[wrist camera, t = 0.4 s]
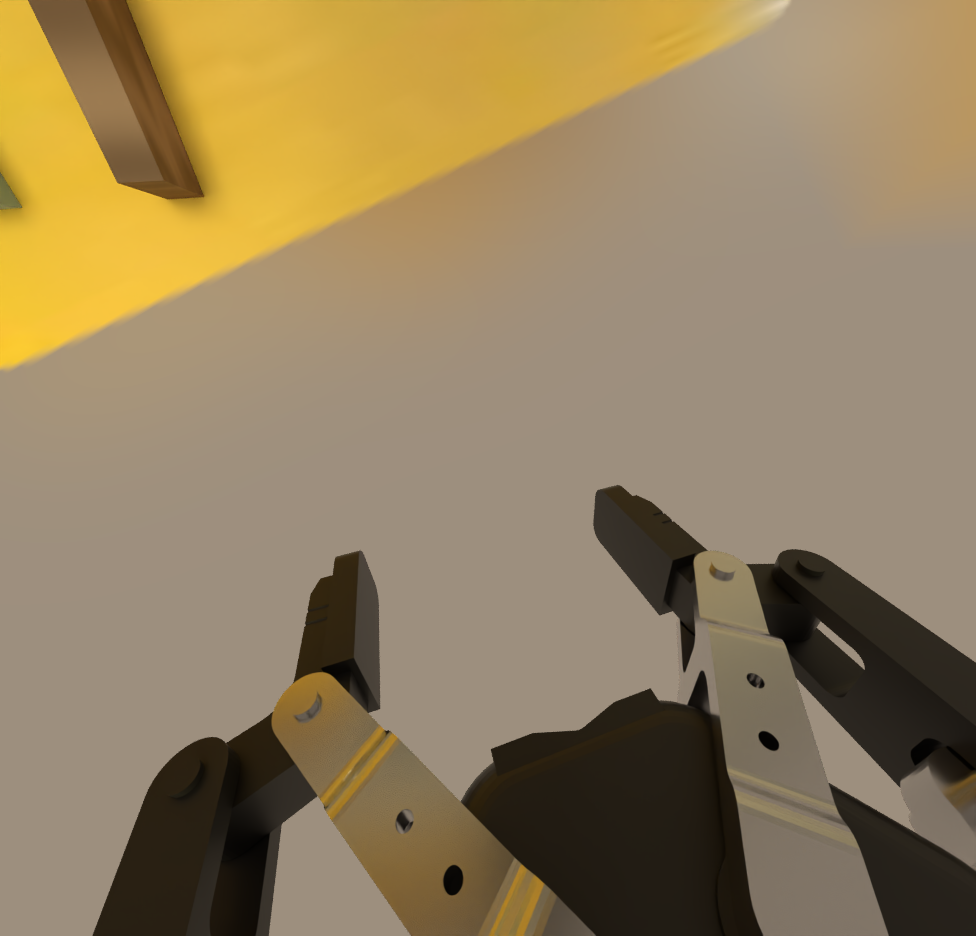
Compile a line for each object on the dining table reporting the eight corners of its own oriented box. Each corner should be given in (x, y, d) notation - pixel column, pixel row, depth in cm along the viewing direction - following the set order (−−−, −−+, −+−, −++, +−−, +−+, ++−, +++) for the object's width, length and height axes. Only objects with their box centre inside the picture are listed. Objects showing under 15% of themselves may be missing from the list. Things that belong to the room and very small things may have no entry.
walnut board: (21, -131, 19) (-108, -277, 14) (75, -126, 19) (-32, -266, 14) (167, 199, 26) (117, 182, 21) (203, 196, 26) (163, 180, 21)
